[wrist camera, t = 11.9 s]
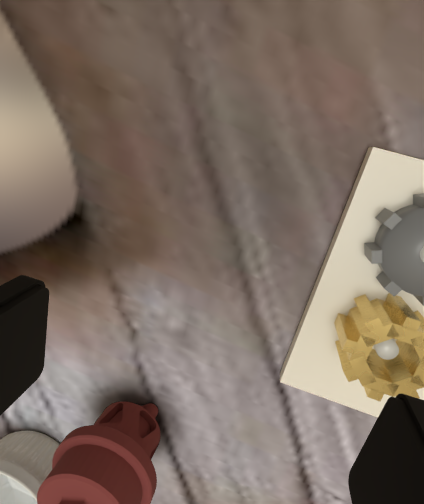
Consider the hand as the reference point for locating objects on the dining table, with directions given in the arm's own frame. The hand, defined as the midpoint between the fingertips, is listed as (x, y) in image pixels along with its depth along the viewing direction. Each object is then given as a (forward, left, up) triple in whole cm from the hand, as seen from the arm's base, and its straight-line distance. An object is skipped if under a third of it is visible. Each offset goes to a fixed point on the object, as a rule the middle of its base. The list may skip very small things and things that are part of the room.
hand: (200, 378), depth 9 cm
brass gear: (+6, +12, -21) cm, 25 cm away
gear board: (+3, +12, -23) cm, 26 cm away
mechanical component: (+26, -7, -23) cm, 35 cm away
